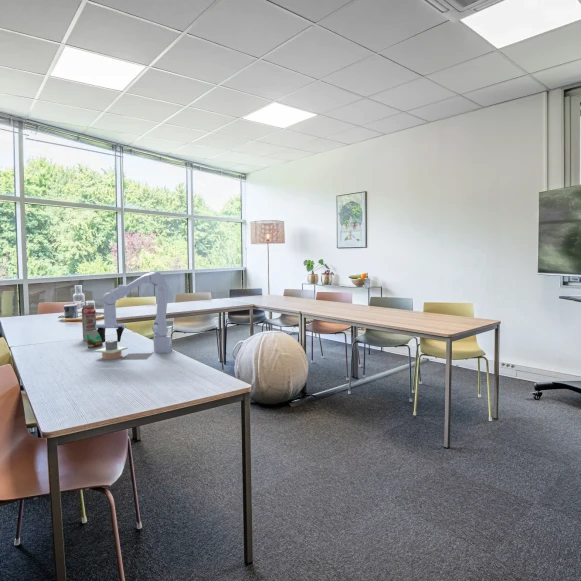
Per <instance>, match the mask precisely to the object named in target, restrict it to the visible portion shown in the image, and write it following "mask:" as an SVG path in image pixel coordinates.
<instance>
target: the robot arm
mask: <svg viewBox="0 0 581 581" xmlns="http://www.w3.org/2000/svg"><path fill="white" fill-rule="evenodd" d="M143 284H152V285H154V287H155V288H157V289H158V291H157V304H156V314H155V315H156V316H155V319H154V321H153V322H154V323H153V324H152V326H151V327H152V328H151V329H152V332H153V333H154V334H153V350H152V351H151V353H153V354H155V353H170V352H171V351H172V350H173V339H172V335H168V333H169V332H168V331H169V328H168V326H167V325H168V324H167V323H168V322H167V319H166V318H167V307H168V297H169V296H168V295H169V285H168V282H167V281H166V279H165V276H164V275H162V274H161V273H160V272H159V271H158V272H157V271H150V272H148V273H145V274H144V275H141V276H139V277H138V278H136V279H134V280H133V281H131V282H130V283H128V284H118V285H117V287H116V288H114V289H110V290H109V292H106V293H104V294H103V295H102V297H101V300H102V302H103V318H104V319H103V320H104V321H103V322H104V323H100V324H98V323H96V325H95V326H96V329H98V330H97V332H98V333H99V335H100V337H101V339H102V342H103V343H105V342H106V329H115V330H116V336H117V337H116V338H117V339H116V341H117V343H120V342H121V339H122V335H123V332H124V330H125V328H126V326H127V325H126V323H117V307H116V302H117V301H119V300H121V299H123V298H124V297H127V295H128V296H129V294H130V292H131V291H132V290H133V289H134V290H135V288H137V287H140V286H141V285H143Z"/></svg>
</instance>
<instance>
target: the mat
mask: <svg viewBox="0 0 581 581" xmlns="http://www.w3.org/2000/svg"><path fill="white" fill-rule="evenodd" d="M153 354H154V353H152V352H150V353H149V352H143V353H141V352H140V353H139V352H137V353H135V352H134V353H128V354H126V355H125V356H124V357H122V358H121V359H120V361H130V360H131V361H135V360H137V361H139V360H140V361H141V360H148V359H149V358H150V357H151V356H152V355H153Z"/></svg>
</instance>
